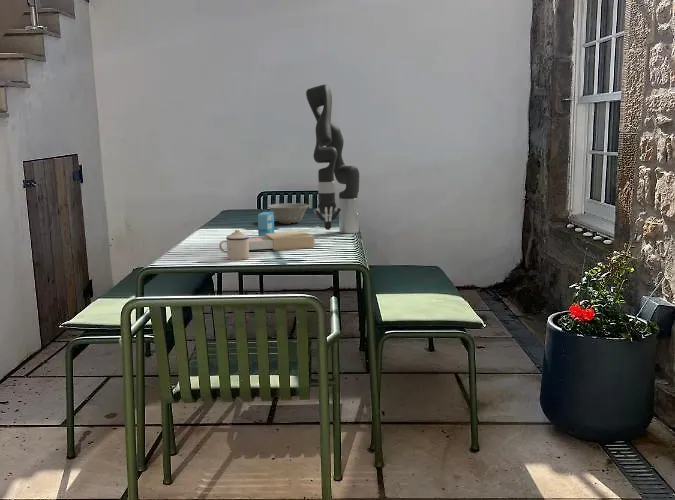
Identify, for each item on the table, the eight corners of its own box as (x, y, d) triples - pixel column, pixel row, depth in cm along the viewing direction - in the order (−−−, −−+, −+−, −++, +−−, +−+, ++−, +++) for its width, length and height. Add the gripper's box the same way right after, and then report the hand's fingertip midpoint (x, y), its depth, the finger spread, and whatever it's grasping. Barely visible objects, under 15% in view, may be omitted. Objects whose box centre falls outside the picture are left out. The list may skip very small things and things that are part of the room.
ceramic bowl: (260, 224, 365) (259, 206, 363) (284, 219, 384) (284, 202, 382) (292, 226, 353) (292, 208, 352) (316, 221, 373) (316, 204, 371)
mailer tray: (305, 240, 303) (305, 233, 302) (314, 245, 290) (314, 237, 290) (236, 245, 293) (236, 237, 292) (242, 250, 280) (242, 242, 279)
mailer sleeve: (303, 242, 304) (303, 231, 303) (313, 247, 289) (313, 236, 288) (265, 244, 298) (265, 233, 297) (273, 250, 283) (273, 238, 283)
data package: (267, 239, 312) (266, 214, 310) (258, 239, 313) (257, 214, 311) (274, 235, 324) (273, 211, 322) (265, 235, 325) (264, 211, 323)
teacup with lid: (251, 256, 271) (250, 228, 269) (247, 260, 262) (246, 231, 260) (222, 256, 271) (220, 228, 269) (217, 260, 262) (216, 231, 260)
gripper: (337, 189, 304) (338, 227, 307) (310, 191, 299) (311, 229, 302) (343, 191, 297) (344, 229, 300) (315, 193, 292) (316, 231, 296)
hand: (327, 229), depth 301 cm, fingers closed
